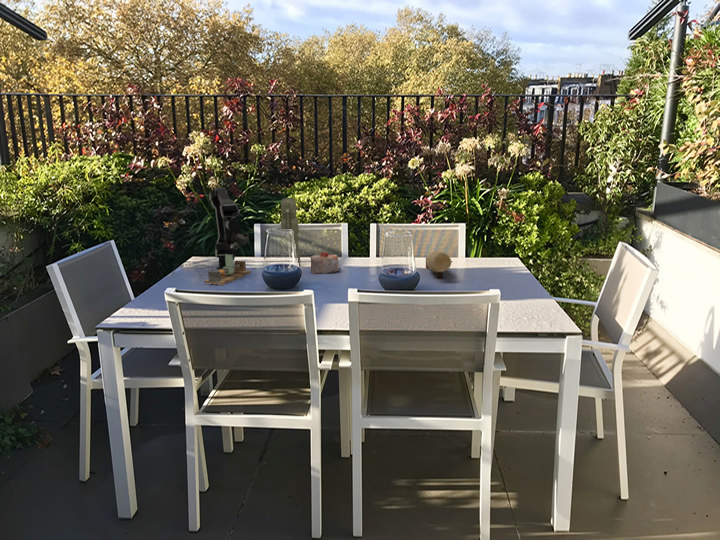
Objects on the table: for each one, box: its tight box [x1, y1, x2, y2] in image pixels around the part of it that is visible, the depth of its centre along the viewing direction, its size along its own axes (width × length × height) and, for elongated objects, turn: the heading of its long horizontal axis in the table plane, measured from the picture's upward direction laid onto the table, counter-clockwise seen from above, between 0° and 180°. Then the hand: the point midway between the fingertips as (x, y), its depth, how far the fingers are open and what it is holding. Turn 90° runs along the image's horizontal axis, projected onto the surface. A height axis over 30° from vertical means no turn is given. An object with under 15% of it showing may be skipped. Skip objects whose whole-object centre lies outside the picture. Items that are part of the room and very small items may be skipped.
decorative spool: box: [425, 250, 453, 279], centre depth 283 cm, size 10×12×30 cm
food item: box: [310, 252, 340, 275], centre depth 295 cm, size 14×8×10 cm, turn 99°
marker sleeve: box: [222, 254, 235, 275], centre depth 287 cm, size 4×3×9 cm
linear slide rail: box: [204, 260, 251, 286], centre depth 287 cm, size 24×10×6 cm, turn 159°
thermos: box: [280, 197, 301, 267], centre depth 306 cm, size 9×12×35 cm
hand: (232, 260), depth 291 cm, fingers closed
